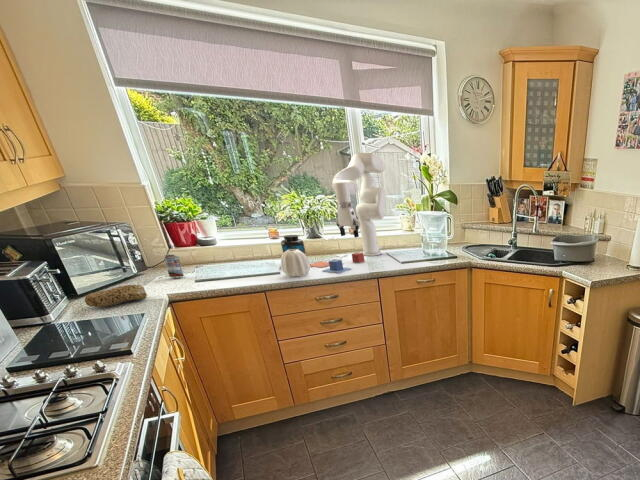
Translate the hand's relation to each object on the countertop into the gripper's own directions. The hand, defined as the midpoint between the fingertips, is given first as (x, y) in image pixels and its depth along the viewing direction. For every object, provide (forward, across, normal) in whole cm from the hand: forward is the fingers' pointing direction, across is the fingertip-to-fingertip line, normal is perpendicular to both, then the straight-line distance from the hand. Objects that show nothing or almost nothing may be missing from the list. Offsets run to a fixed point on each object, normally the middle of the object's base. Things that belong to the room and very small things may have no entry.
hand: (349, 236), depth 244 cm
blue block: (+15, -2, +18) cm, 24 cm away
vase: (+16, +9, +36) cm, 40 cm away
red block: (+16, 0, -5) cm, 17 cm away
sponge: (+14, +40, +104) cm, 112 cm away
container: (+16, +29, +17) cm, 37 cm away
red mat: (+16, +15, +12) cm, 25 cm away
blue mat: (+16, -2, +18) cm, 24 cm away
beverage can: (+15, +59, +66) cm, 90 cm away
